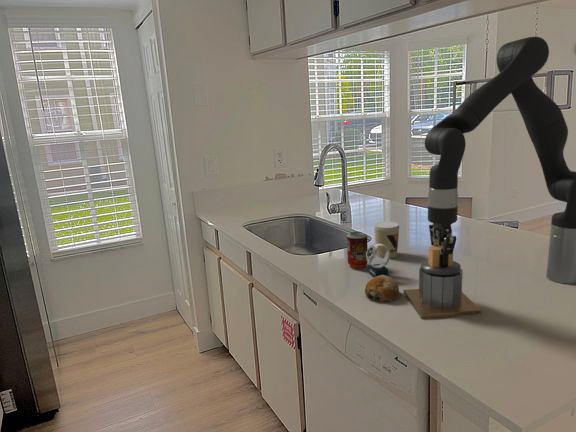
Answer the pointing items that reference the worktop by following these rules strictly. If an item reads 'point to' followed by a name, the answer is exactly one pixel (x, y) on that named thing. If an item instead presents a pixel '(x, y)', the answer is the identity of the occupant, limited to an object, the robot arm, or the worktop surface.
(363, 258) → the soda can
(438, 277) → the gray cylinder on base
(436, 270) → the cap
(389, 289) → the bread roll
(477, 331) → the worktop surface
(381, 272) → the watch
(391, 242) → the coffee cup
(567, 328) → the worktop surface
